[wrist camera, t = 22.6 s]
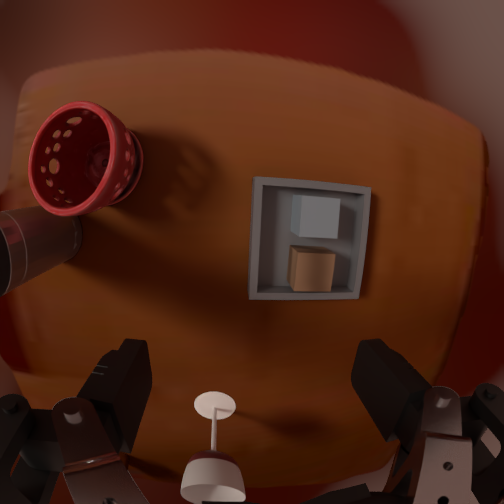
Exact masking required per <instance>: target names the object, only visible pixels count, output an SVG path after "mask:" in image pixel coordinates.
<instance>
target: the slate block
mask: <svg viewBox="0 0 504 504" xmlns="http://www.w3.org/2000/svg"><path fill="white" fill-rule="evenodd" d="M339 212H340V199H336V198H326V197H315V196H303V195H293V201H292V216H291V232H293V233H294V234H296V235H297V236H299V237H316V238H335V239H337V235H338V224H339Z"/></svg>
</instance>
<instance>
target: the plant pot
mask: <svg viewBox="0 0 504 504" xmlns="http://www.w3.org/2000/svg"><path fill="white" fill-rule="evenodd" d="M73 117H81V119H80V120H78V121H77V122H74V123H70V124H69V123H67V120H69V119H70V118H73ZM56 130H59V133H58V135H57V136H56V137H54V138H53V137H52V136H53V134H54V132H55V131H56ZM67 130H71V131H70V133H69V134H68V135H67V136H65V137H63V134H64V133H65V131H67ZM56 143H58V144H59V146H58V149H57V150H56V151H53V148H54V145H55V144H56ZM47 147H48V151H47V153H45V150H46V148H47ZM53 158H54V159H56V161H57V170H56V172H55V173H54V174H52V173H51V172H50V171H49V162H50V161H51V159H53ZM143 160H144V159H143V150H142V147H141V144H140V142H139V140H138V139H137V137H136V136H135V135H134V134H133V133H132V132H131V131H130V130H129V129H127V128H126V127H125V125H124V124H123V123H122V122H121V121H120V120H119V119H118V118H117V117H116V116H115V115H113V114H112V113H111V112H110V111H108V110H107V109H105V108H103V107H102V106H100V105H98V104H95V103H92V102H88V101H75V102H71V103H68V104H66V105H64V106H62V107H60V108H59V109H57V110H56V111H55V112H54V113H52V114H51V115H50V116H49V117H48V118H47V119H46V121H45V122H44V123H43V124H42V126H41V128H40V129H39V131H38V133H37V135H36V137H35V139H34V142H33V144H32V147H31V151H30V156H29V163H28V175H29V182H30V186H31V189H32V192H33V194H34V196H35V198H36V200H37V201H38V202H39V204H40V205H41V206H42V207H43V208H44V209H45V210H47V211H48V212H50V213H52V214H54V215H58V216H78V215H83V214H88V213H91V212H94V211H97V210H99V209H101V208H103V207H105V206H108V205H113V204H116V203H118V202H120V201H122V200H123V199H124V198H126V197H127V196H128V195H129V194H130V193H131V192H132V191H133V190H134V188H135V187H136V185H137V183H138V181H139V179H140V176H141V173H142V169H143ZM41 166H42V167H43V173H42V172H41ZM46 179H47V180H48V181H49V182H50V185H51V187H50V186H48V185H47V183H46ZM58 189H59V190H61V191H62V192H63V194H61V193H60V192H59V191H58ZM54 198H55V199H57V200H55V199H54ZM65 200H67V201H69V202H70V203H67V202H66V201H65Z"/></svg>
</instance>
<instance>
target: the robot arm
mask: <svg viewBox="0 0 504 504" xmlns="http://www.w3.org/2000/svg"><path fill="white" fill-rule="evenodd" d="M81 241H82V227H81V223H80V220H79V218H78V216H58V215H54V214H52V213H50V212H48V211H47V210H45V209H44V208H43V207H42V206H34V207H27V208H21V209H15V210H8V211H3V212H0V297H1V296H2V295H4V294H6V293H8V292H9V291H11V290H13V289H15V288H16V287H18V286H20V285H22V284H23V283H25V282H27V281H29V280H31V279H33V278H34V277H36V276H38V275H40V274H42V273H44V272H46V271H48V270H50V269H52V268H53V267H55V266H58V265H60V264H61V263H63V262H65V261H67V260H69V259H71V258H73V257H74V256H75V255H76V253H77V252H78V250H79V248H80V246H81ZM92 372H93V373H91V375H90V376H89V378H88V379H87V381H86V382H85V384H84V385H83V387H82V388H81V390H80V392H79V393H78V395H77V396H76V397H69V398H65V399H63V400H61V401H59V402H58V403H56V404H55V406H54V407H53V409H52V410H45V409H31V407H30V405H29V403H28V401H27V399H26V398H25V397H23V396H21V395H18V394H8V395H5V396H3V397H1V398H0V504H49V502H50V499H51V496H52V492H53V490H54V487H55V484H56V481H57V478H58V476H59V473H60V472H63V474H64V477H65V480H66V482H67V485H68V488H69V490H70V493H71V495H72V498H73V500H74V502H75V504H149V503H148V501H147V500H146V499H145V497H144V495H143V494H142V493H141V491H140V490H139V488H138V486H137V485H136V483H135V482H134V480H133V479H132V477H131V475H130V474H129V472H128V470H127V469H126V467H125V465H124V464H123V462H122V460H121V458H120V457H119V452H120V451H121V452H126V453H131V451H132V448H133V445H134V441H135V438H136V435H137V432H138V428H139V425H140V422H141V419H142V416H143V413H144V410H145V407H146V403H147V400H148V397H149V394H150V391H151V388H152V372H151V366H150V360H149V353H148V346H147V342H146V341H145V340H136V339H125V340H124V342H123V343H122V345H121V346H120V348H119V350H111V351H110V352H108V353H107V354H105V355H104V356H102V358H101V359H100V361H99V362H98V364H97V366H96V367H95V368H94V370H93V371H92ZM351 382H352V386H353V388H354V389H355V391H356V393H357V394H358V396H359V398H360V399H361V401H362V403H363V404H364V406H365V408H366V409H367V411H368V413H369V414H370V416H371V418H372V419H373V421H374V423H375V424H376V426H377V428H378V429H379V431H380V433H381V434H382V436H383V438H384V439H385V441H386V442H389V441H392V440H396V439H399V440H400V443H399V445H398V447H397V449H396V453H395V457H394V460H393V464H392V467H391V470H390V474H389V477H388V480H387V483H386V485H385V487H384V489H383V491H382V492H369V490H368V487H367V485H366V483H364V484H361V485H357V486H353V487H349V488H345V489H340V490H336V491H331V492H328V493H326V494H323V495H321V496H318V497H316V498H313V499H311V500H308V501H305V502H303V503H300V504H470V495H471V491H472V492H473V494H474V495H475V497H476V498H477V500H478V502H479V503H480V504H504V392H503V391H502V390H501V389H500V388H499V387H497V386H495V385H493V384H489V383H483V384H480V385H478V386H477V387H476V389H475V391H474V393H473V395H472V396H468V397H459V396H458V394H457V393H456V392H454V391H453V390H451V389H449V388H446V387H442V386H434V387H432V386H431V385H430V384H429V383H428V382H427V381H426V380H425V379H424V378H423V377H422V376H421V375H420V374H419V373H418V372H417V371H416V369H413V366H412V365H411V364H410V363H408V361H407V360H406V359H405V358H404V357H403V356H402V355H401V354H399V353H397V352H395V351H394V350H392V349H390V348H389V347H388V346H387V345H386V344H385V343H384V342H383V341H382V340H381V339H370V340H362V341H361V342H360V343H359V346H358V350H357V354H356V358H355V362H354V365H353V369H352V373H351ZM487 428H489V429H490V430H491V432H492V433H493V434H494V435H495V436H496V437H497V439H498V440H499V441H500V444H501V451H500V453H499V455H498V456H497V457H496V458H495V457H494V456H493V455H492V454H491V452H490V451H489V450H488V448H487V447H486V446H485V444H484V443H483V442H482V441H481V437H482V436H483V434H484V433H485V431H486V430H487ZM18 454H20V455H21V457H20V459H19V461H18V463H17V465H16V467H15V469H14V471H13V473H12V475H11V477H10V472H11V468H12V466H13V464H14V462H15V460H16V458H17V456H18ZM202 504H258V503H251V502H245V501H241V502H221V501H202Z"/></svg>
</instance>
